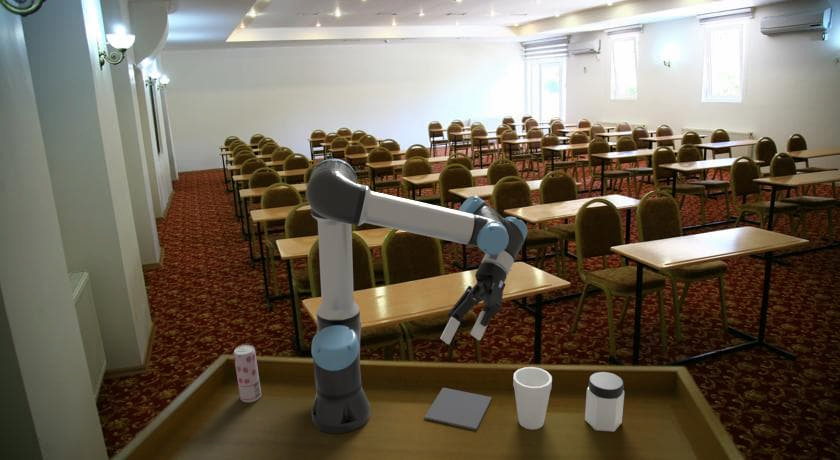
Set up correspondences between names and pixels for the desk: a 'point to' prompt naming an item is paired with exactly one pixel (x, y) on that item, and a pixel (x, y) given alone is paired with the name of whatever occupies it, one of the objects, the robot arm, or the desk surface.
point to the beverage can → (247, 373)
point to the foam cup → (532, 395)
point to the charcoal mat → (459, 408)
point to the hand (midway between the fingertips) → (459, 339)
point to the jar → (604, 401)
